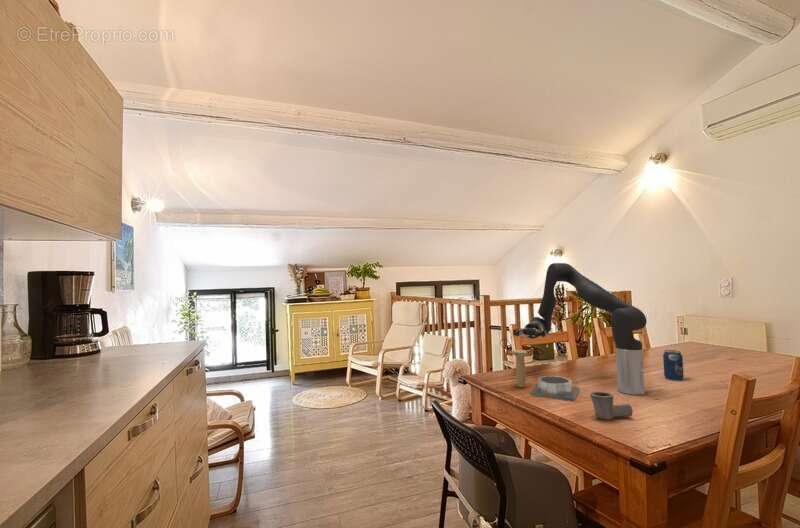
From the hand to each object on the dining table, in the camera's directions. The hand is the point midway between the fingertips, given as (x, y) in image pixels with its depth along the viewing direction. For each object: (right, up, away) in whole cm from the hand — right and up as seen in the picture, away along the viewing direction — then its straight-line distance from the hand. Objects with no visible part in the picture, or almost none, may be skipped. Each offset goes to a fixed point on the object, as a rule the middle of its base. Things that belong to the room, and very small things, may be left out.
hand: (525, 334), depth 172 cm
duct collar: (+5, -20, -20) cm, 28 cm away
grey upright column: (-6, -20, -11) cm, 24 cm away
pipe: (+12, -19, -48) cm, 53 cm away
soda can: (+63, -18, -6) cm, 66 cm away
